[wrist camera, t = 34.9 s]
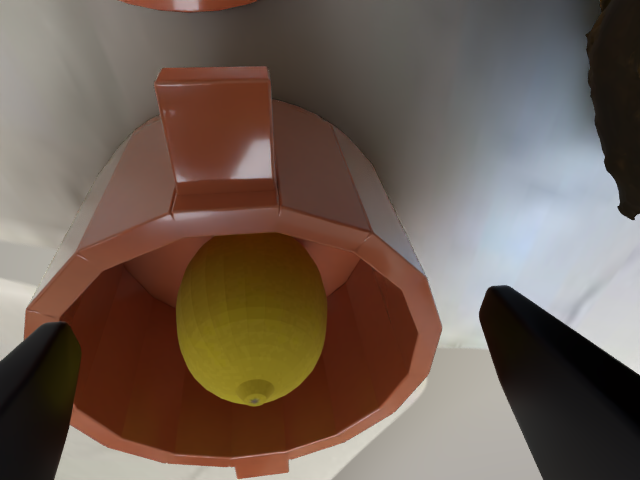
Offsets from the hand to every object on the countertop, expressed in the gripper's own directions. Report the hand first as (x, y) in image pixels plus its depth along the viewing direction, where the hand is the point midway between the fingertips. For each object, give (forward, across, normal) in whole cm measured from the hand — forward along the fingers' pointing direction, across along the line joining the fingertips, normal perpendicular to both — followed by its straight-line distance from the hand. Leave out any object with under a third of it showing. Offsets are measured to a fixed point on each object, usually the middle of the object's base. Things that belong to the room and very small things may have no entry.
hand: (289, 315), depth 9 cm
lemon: (+9, +1, +5) cm, 11 cm away
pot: (+10, +1, +5) cm, 11 cm away
